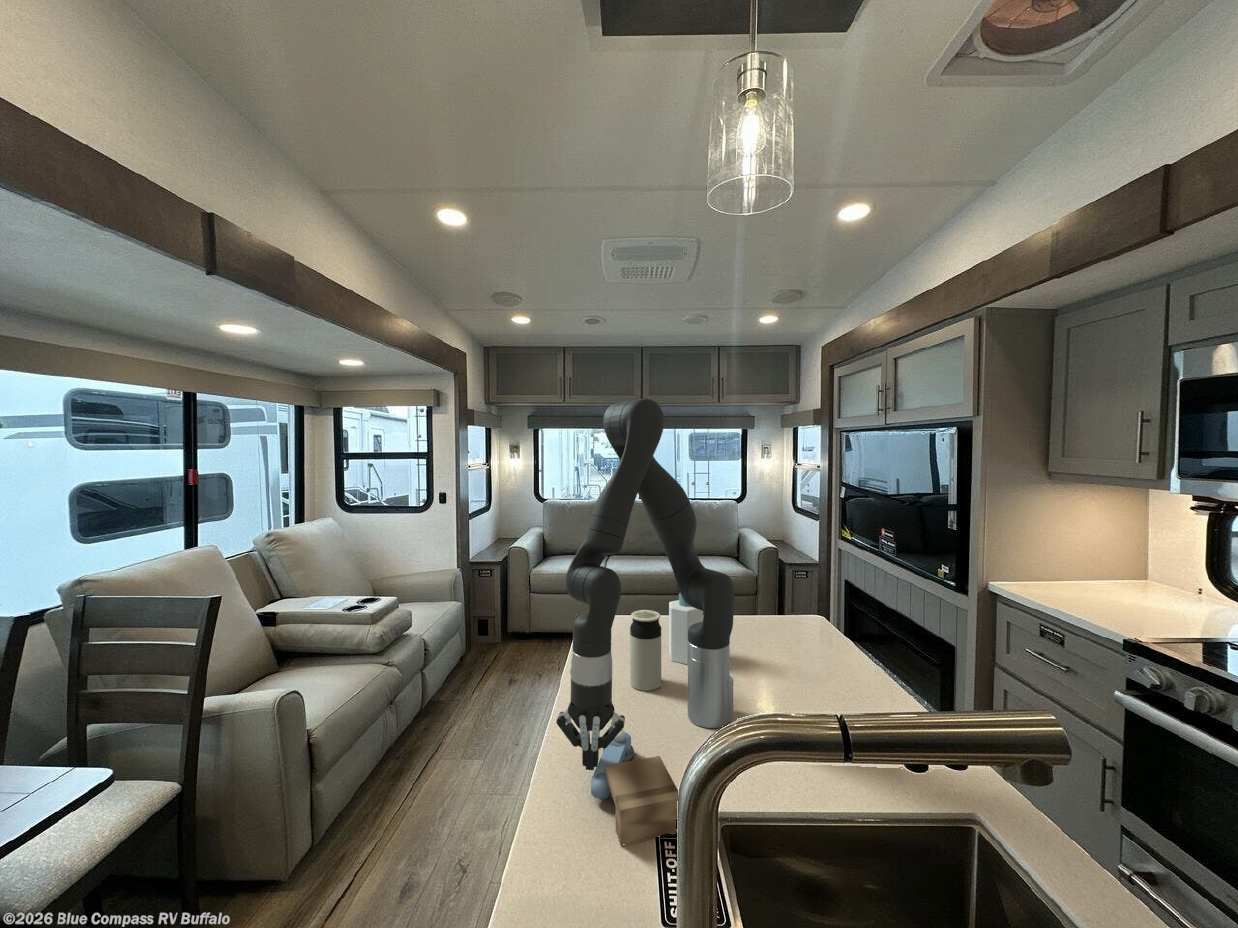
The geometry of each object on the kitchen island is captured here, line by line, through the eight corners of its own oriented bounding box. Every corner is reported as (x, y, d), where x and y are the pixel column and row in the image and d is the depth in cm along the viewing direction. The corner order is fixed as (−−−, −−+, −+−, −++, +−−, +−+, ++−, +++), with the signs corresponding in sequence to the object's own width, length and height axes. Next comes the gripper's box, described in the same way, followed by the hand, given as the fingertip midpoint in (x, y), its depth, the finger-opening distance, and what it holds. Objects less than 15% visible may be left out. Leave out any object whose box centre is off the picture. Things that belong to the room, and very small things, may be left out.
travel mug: (659, 693, 117) (659, 621, 116) (627, 689, 119) (627, 618, 118) (662, 677, 125) (662, 610, 124) (633, 675, 126) (633, 608, 126)
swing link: (609, 739, 96) (609, 723, 96) (633, 742, 95) (633, 727, 95) (584, 795, 80) (584, 777, 80) (612, 801, 79) (612, 782, 79)
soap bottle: (704, 665, 132) (704, 586, 131) (671, 664, 132) (671, 586, 132) (698, 649, 142) (699, 577, 142) (668, 649, 143) (668, 576, 142)
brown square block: (659, 786, 85) (659, 755, 84) (681, 832, 74) (681, 797, 74) (605, 796, 82) (604, 765, 82) (620, 845, 72) (620, 809, 72)
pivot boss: (628, 744, 97) (628, 738, 97) (637, 763, 91) (637, 757, 91) (600, 749, 95) (600, 743, 95) (607, 768, 89) (607, 762, 89)
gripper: (629, 666, 89) (627, 756, 90) (560, 662, 90) (558, 751, 91) (626, 686, 82) (624, 784, 82) (551, 681, 83) (550, 778, 84)
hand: (590, 767), depth 87 cm, fingers closed
